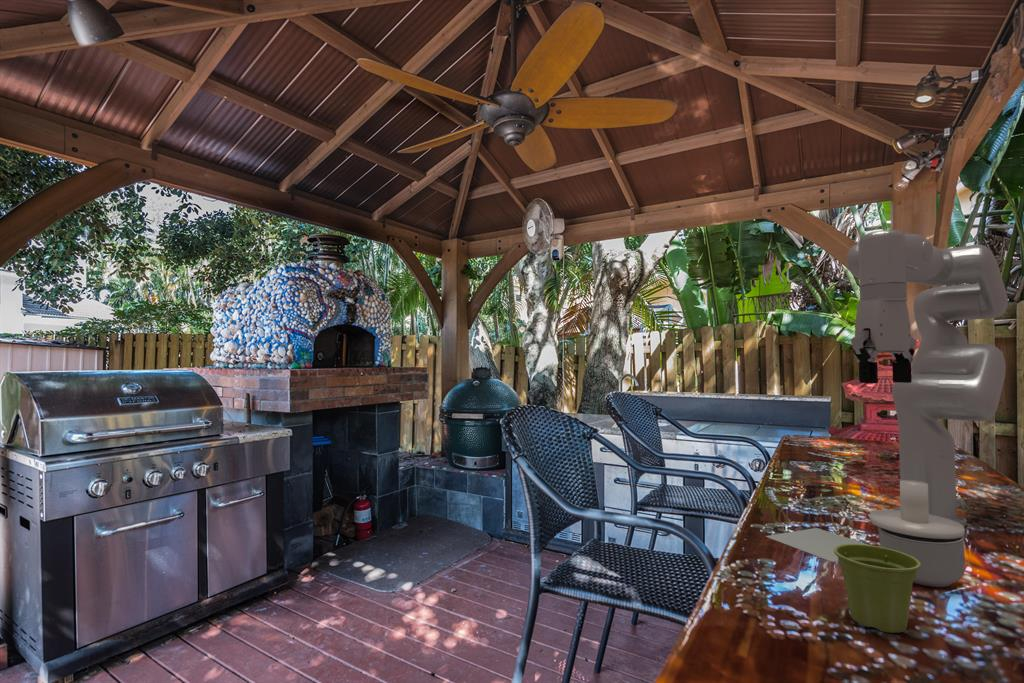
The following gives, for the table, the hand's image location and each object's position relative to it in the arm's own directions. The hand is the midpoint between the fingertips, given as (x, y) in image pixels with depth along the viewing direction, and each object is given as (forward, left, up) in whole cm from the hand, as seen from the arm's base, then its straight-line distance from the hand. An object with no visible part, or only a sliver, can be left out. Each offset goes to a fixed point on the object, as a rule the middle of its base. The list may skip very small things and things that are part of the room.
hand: (885, 382), depth 101 cm
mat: (+14, -3, -30) cm, 34 cm away
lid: (+13, +13, -22) cm, 29 cm away
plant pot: (+34, +20, -31) cm, 50 cm away
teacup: (+13, +12, -31) cm, 35 cm away
